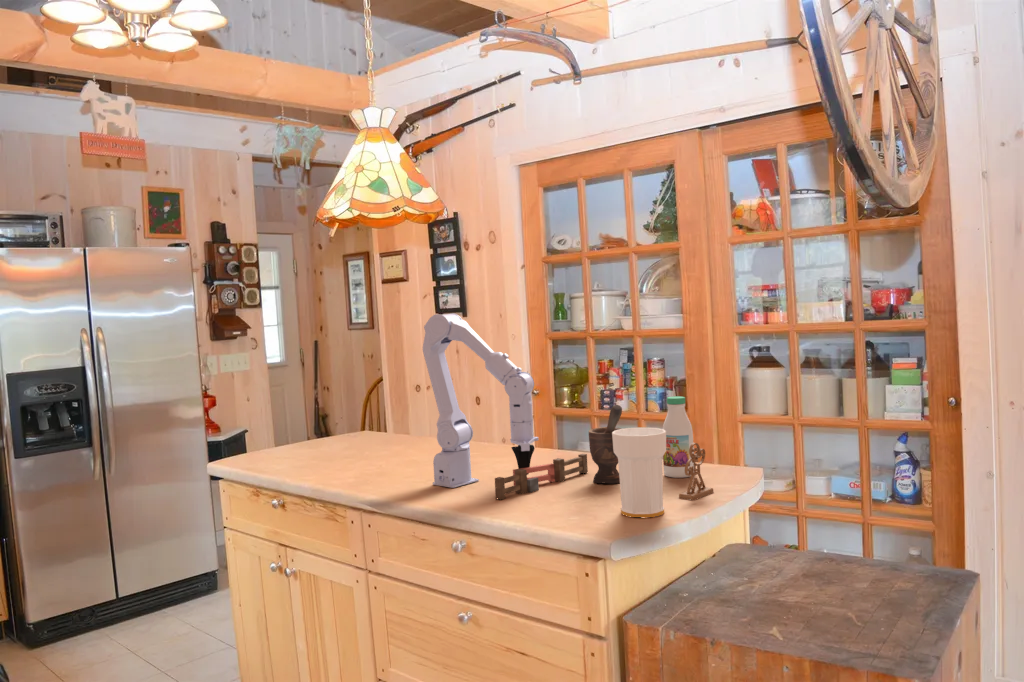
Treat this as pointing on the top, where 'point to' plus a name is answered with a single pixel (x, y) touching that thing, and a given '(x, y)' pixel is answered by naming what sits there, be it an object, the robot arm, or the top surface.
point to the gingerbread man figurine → (692, 491)
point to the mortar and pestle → (605, 449)
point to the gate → (549, 467)
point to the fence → (532, 484)
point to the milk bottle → (677, 438)
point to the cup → (640, 469)
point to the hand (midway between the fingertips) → (524, 474)
